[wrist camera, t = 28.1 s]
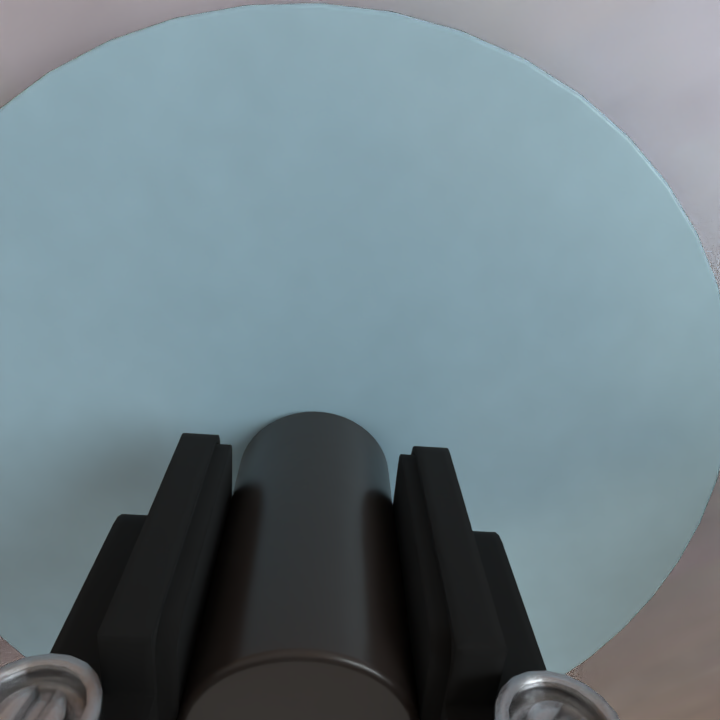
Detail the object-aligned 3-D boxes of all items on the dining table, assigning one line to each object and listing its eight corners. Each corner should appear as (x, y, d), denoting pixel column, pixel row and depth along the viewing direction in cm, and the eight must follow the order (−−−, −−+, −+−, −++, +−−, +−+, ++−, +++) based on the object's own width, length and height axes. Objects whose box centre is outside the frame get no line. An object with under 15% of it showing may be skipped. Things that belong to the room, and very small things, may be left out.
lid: (-213, 489, 13) (-662, 832, 7) (220, -256, 8) (-34, -956, 3) (363, 781, 17) (376, 1145, 11) (853, 387, 12) (1284, 654, 7)
